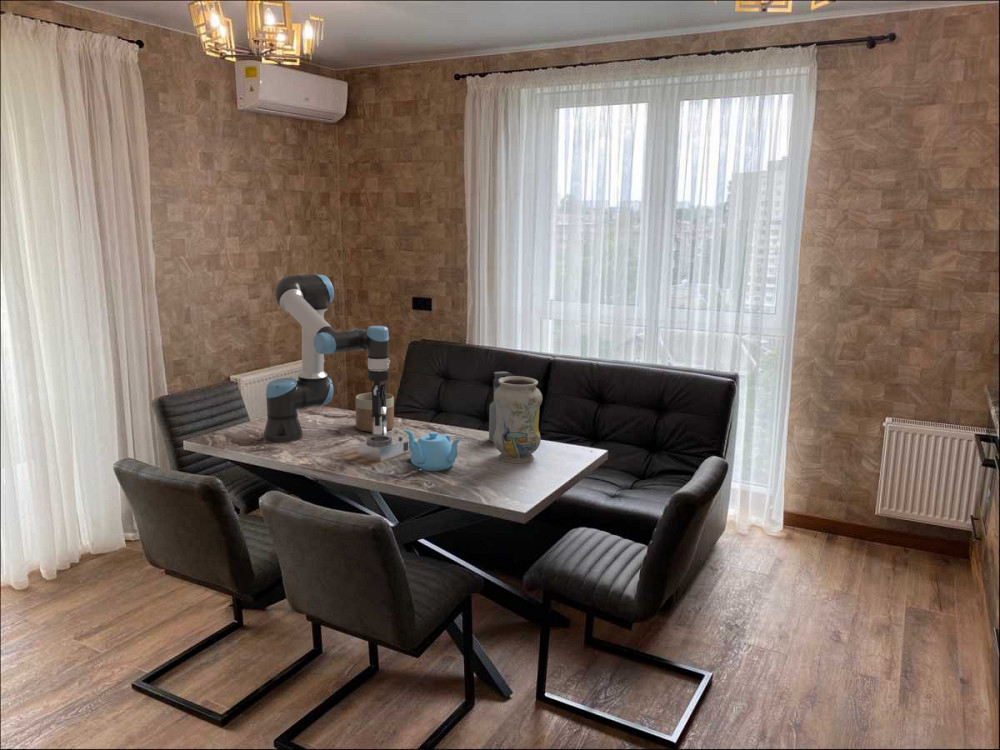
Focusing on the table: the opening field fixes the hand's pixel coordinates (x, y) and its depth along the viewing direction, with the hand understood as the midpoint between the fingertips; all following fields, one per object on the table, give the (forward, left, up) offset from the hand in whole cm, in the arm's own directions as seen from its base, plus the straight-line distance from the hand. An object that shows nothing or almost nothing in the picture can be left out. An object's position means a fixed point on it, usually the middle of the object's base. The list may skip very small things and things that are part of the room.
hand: (379, 431), depth 275 cm
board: (-3, 0, -10) cm, 11 cm away
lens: (0, 0, -1) cm, 1 cm away
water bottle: (+22, +48, -11) cm, 54 cm away
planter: (-31, +31, -11) cm, 45 cm away
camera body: (0, +2, -9) cm, 9 cm away
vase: (+40, +31, -11) cm, 52 cm away
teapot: (+20, +5, -11) cm, 23 cm away
